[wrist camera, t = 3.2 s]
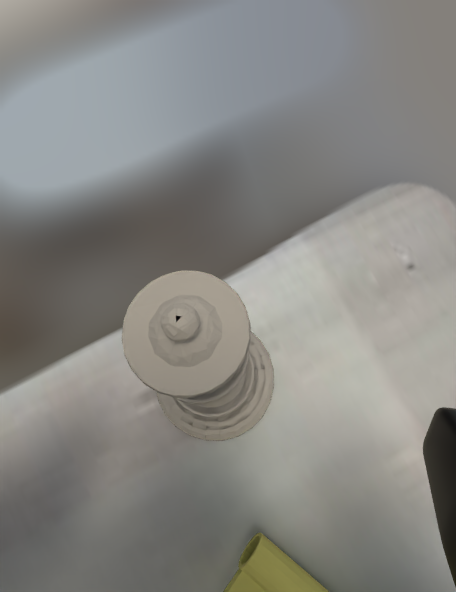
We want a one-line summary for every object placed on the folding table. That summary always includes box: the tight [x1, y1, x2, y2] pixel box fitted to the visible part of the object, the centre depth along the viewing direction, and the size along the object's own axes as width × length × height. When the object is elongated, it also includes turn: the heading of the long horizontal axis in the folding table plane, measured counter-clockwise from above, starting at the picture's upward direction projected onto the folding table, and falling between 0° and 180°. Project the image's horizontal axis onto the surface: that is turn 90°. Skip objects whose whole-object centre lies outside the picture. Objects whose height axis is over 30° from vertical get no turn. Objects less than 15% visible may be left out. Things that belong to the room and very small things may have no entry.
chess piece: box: [122, 271, 274, 441], centre depth 11 cm, size 4×4×10 cm
